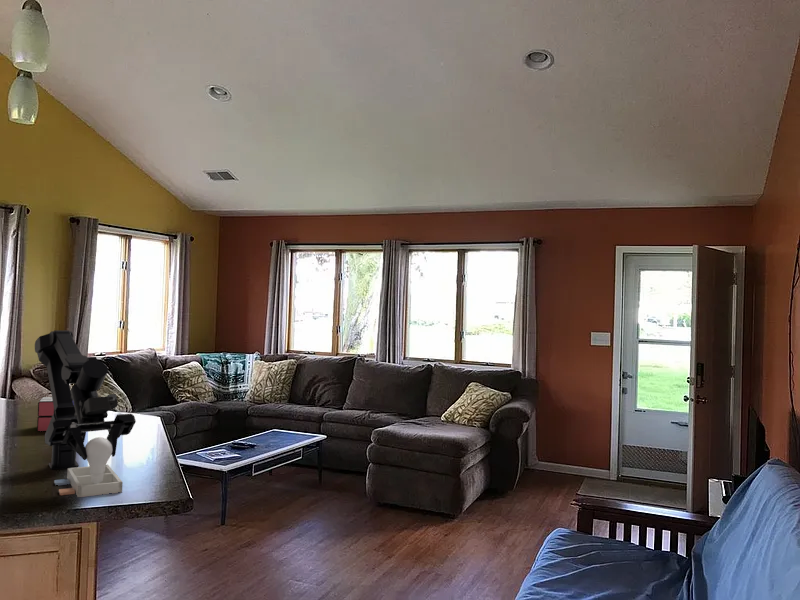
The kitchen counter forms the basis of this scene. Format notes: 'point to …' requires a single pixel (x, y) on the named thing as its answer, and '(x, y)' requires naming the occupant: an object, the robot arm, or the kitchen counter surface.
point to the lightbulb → (98, 457)
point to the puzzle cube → (45, 413)
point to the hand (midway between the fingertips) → (100, 457)
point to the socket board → (89, 482)
